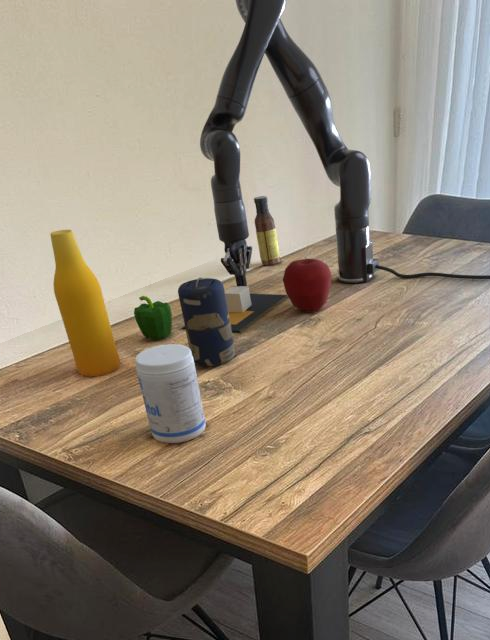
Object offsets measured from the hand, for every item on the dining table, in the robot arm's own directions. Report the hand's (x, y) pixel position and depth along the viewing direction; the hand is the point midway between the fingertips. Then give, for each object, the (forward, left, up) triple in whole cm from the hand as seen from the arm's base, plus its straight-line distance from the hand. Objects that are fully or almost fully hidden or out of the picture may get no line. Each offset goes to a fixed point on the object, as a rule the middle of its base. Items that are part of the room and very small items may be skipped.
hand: (242, 288), depth 175 cm
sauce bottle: (+13, -42, -5) cm, 44 cm away
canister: (-11, +35, -5) cm, 38 cm away
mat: (0, +4, -5) cm, 7 cm away
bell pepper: (+11, +24, -5) cm, 27 cm away
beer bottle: (+13, +44, -5) cm, 47 cm away
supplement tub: (-22, +66, -5) cm, 70 cm away
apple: (-19, 0, -5) cm, 20 cm away
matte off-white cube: (0, +1, -1) cm, 2 cm away
